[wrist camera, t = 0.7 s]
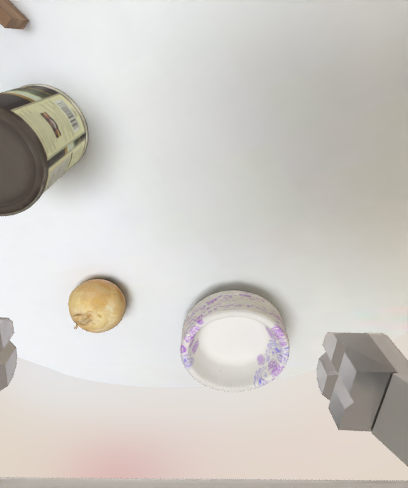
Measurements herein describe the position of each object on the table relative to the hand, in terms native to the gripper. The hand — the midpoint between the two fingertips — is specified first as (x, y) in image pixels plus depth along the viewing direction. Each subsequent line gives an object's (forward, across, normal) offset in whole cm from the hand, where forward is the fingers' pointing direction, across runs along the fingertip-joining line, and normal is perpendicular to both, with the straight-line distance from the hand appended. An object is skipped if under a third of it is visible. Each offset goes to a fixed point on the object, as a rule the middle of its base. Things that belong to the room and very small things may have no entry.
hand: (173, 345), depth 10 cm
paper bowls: (+41, -10, +26) cm, 50 cm away
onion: (+42, +10, +24) cm, 49 cm away
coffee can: (+40, +16, 0) cm, 43 cm away
